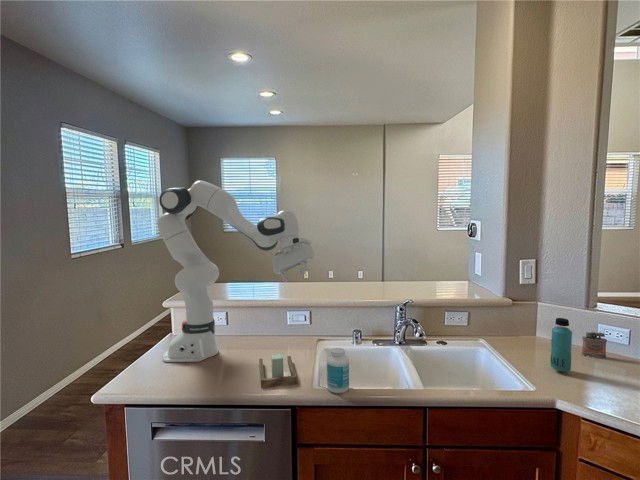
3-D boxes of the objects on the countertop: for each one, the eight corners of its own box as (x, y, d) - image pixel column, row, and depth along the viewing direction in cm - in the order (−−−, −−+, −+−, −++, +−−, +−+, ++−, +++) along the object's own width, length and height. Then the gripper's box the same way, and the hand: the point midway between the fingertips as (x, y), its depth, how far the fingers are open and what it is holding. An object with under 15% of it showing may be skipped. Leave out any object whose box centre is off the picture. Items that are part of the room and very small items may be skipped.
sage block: (272, 380, 128) (272, 359, 127) (271, 376, 132) (271, 354, 131) (283, 379, 129) (283, 358, 128) (282, 374, 133) (282, 354, 132)
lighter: (583, 356, 145) (584, 332, 145) (580, 353, 148) (581, 329, 148) (607, 359, 142) (608, 334, 142) (604, 356, 145) (605, 332, 145)
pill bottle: (347, 395, 117) (347, 355, 116) (325, 393, 119) (324, 353, 118) (350, 384, 124) (349, 346, 123) (329, 382, 126) (328, 345, 125)
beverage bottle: (567, 369, 134) (569, 316, 132) (573, 377, 127) (576, 322, 126) (547, 367, 136) (549, 315, 134) (552, 374, 130) (554, 320, 128)
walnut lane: (261, 387, 123) (260, 380, 123) (259, 364, 142) (259, 358, 142) (296, 383, 126) (296, 376, 125) (290, 361, 144) (290, 355, 144)
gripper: (267, 253, 153) (270, 283, 148) (303, 235, 143) (308, 268, 137) (278, 256, 158) (281, 285, 152) (313, 239, 147) (318, 271, 142)
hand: (294, 277), depth 145 cm, fingers open, 8 cm apart
